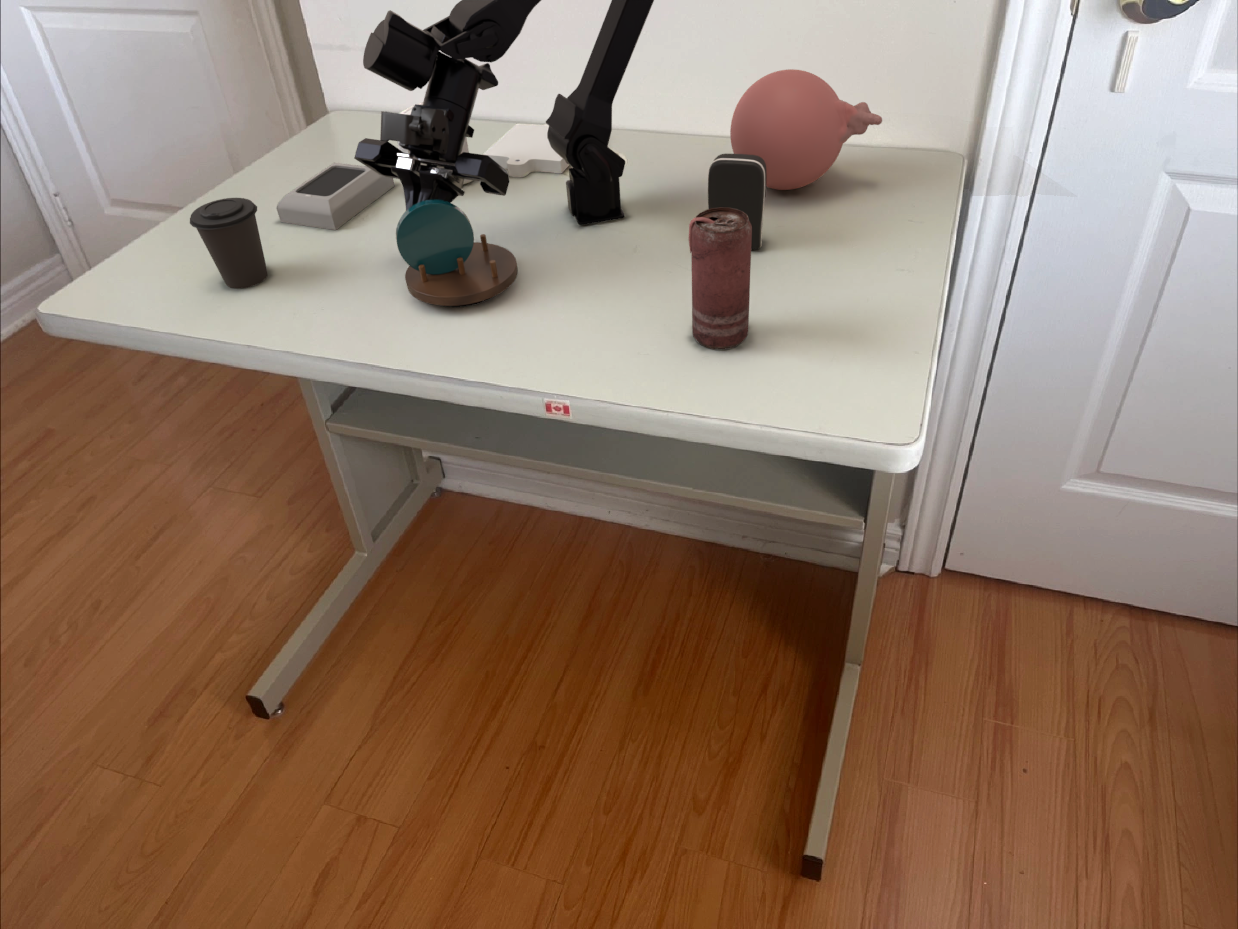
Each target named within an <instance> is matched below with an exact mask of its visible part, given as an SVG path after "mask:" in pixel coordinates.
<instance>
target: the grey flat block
mask: <svg viewBox="0 0 1238 929" xmlns="http://www.w3.org/2000/svg"><path fill="white" fill-rule="evenodd" d="M395 185H396V184H395V180H394V178H390V177H385V176H382V175H380V174H378V173H376V172H375V171H373V170H372V169H370V168H369V167H367V166H365V165H361V164H360V165H359V164H350V163H342V162H332V163H331V164H329V165H328V166H327V167H325V168H324V169H322V170H321V171H319V172H317V173H316V174H314V175H313V176H312V177H310V178H308V179H307V180H305V181H304V182H302V183H301V184H299V185H298V186H296V187H294V189H292V190H290V191H289V192H287V193H285V195H284V196H283V197H282V198H281V199H279V201H278V202H277V204H276V207H275V209H276V211H277V215H278V218H279V221H280V223H284V224H291V225H292V224H293V225H298V226H299V225H300V226H306V227H313V228H320V229H326V230H333V231H336V230H338V229H339V228H341V227H342V226H343V225H345V224H346V223H347V222H349V221H350V220H351V219H353V218H354V217H355V216H357V215H358V214H359V213H361V212H362V211H364V210H365V209H366V208H368V207H369V206H370V205H371V204H373V203H374V202H375V201H376V200H378V199H379V198H381V197H382V196H384V195H385V194H386V193H387V192H389V191H390V190H391V189H392V188H394V187H395Z"/></svg>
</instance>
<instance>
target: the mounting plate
mask: <svg viewBox="0 0 1238 929" xmlns="http://www.w3.org/2000/svg"><path fill="white" fill-rule="evenodd" d="M548 128H549V125H548V124H546V123H545V124H532V123H519V122H518V123H515V124H514V125H513V126H512V127H511V128H510V129H509V130H507V131H506V132H505V133H504V134H503V135H502V136H500V138H499V139H497V140H496V141H495V142H494V143H493V144H492V145H490V146H489V147H488V149H486V150H485V151H484V152H483V153H482V154H481V155H488V156H489V157H490V158H492V159H493V160H494V161H495V162H497V163H498V164H499V165H500V166H502V167H503V168H504V169H505V170H507V173H508V176H509V177H511V178H512V177H513V178H524V177H527V176H528V175H529V174H530V173H534V172H539V173H551V174H563V173H564V172H565V170H566V169H568V168H569V166H570V165H569V164H567V163H566V162H565V160H564V159H563V158H562V157H561V156H559V155H558V154H557V153H556V152H555V151H554V150H553V149H552V147H551V146H550V143H549V140H548V138H547V132H548Z"/></svg>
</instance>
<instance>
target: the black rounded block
mask: <svg viewBox="0 0 1238 929" xmlns="http://www.w3.org/2000/svg"><path fill="white" fill-rule="evenodd" d="M766 180H767V169H766V163H765V161H764V160H763V159H762V158H761V157H759V156H756V155H748V154H734V153H721V154H719V155H717V156H716V157H715V158H714V159H713V161H712V162H711V163H710V166H709V168H708V173H707V206H708V208H707V210H708V209H712V208H720V207H723V208H733V209H738V210H740V211H743V212H744V213H745V214H747V216H748V218H749V221H750V223H751V225H752V240H751V250H760V249H761V247H762V245H763V221H764V220H763V219H764V211H765V210H764V209H765V202H766V201H765V200H766V196H767V187H766Z"/></svg>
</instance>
